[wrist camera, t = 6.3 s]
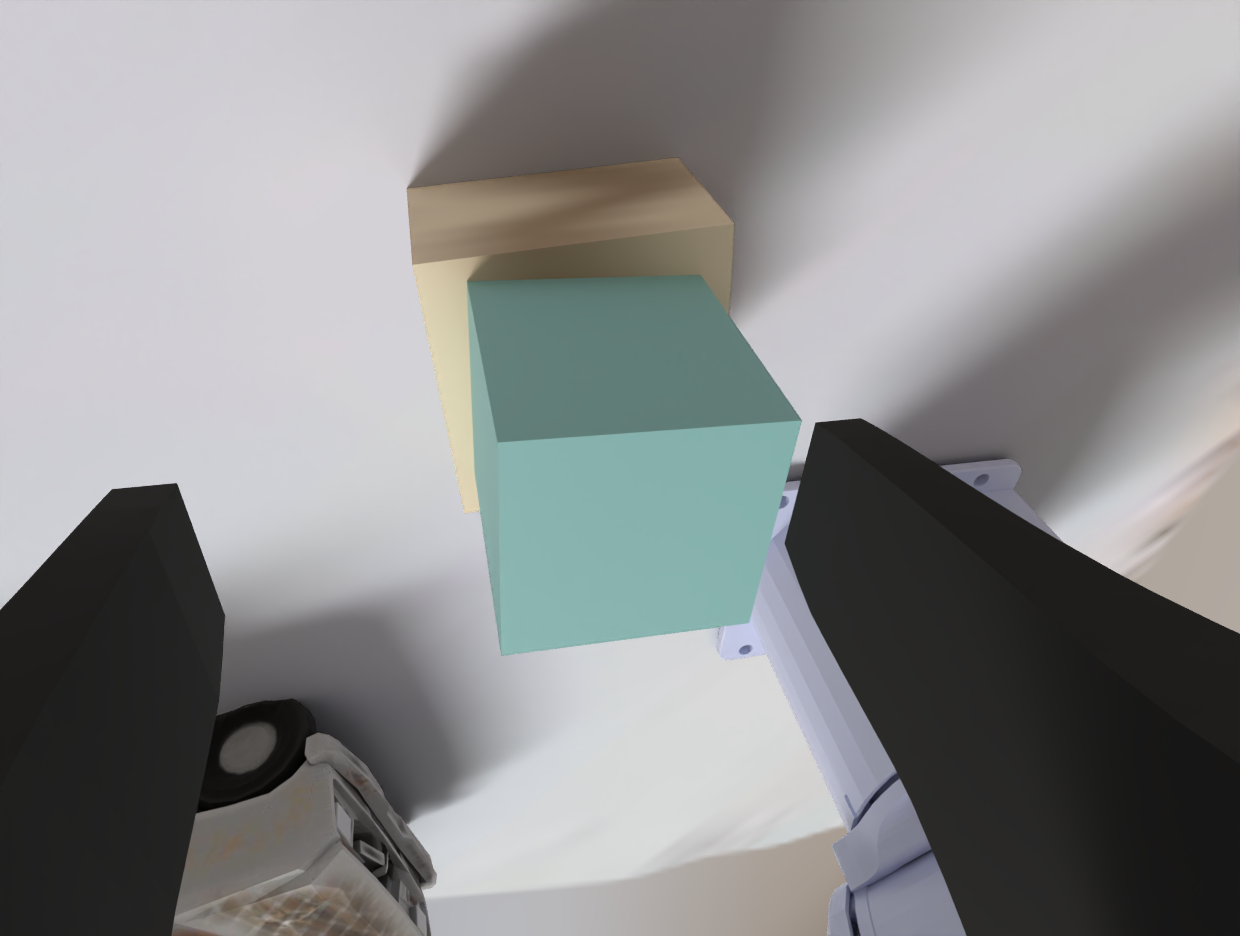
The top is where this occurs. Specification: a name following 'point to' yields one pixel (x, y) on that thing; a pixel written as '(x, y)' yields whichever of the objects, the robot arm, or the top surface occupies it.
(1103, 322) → the top surface
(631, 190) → the beech block
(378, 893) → the toy car
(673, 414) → the teal block
